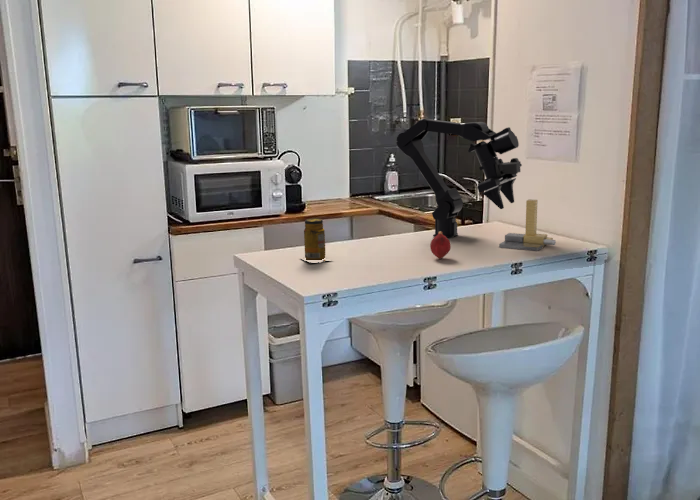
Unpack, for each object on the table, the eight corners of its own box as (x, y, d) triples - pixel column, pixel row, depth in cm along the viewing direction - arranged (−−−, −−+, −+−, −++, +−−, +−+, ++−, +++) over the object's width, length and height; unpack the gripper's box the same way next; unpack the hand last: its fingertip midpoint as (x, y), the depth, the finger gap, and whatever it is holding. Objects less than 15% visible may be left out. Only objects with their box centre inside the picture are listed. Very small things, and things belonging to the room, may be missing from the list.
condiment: (321, 256, 199) (320, 216, 197) (333, 261, 192) (331, 221, 189) (299, 259, 196) (297, 219, 194) (310, 265, 189) (308, 223, 186)
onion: (451, 260, 188) (451, 233, 186) (431, 261, 188) (431, 233, 187) (449, 256, 194) (449, 229, 192) (429, 256, 194) (429, 229, 192)
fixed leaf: (499, 247, 203) (499, 238, 202) (509, 241, 210) (509, 232, 210) (548, 251, 195) (548, 242, 194) (556, 245, 203) (557, 236, 202)
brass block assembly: (504, 244, 207) (505, 199, 204) (515, 237, 216) (516, 195, 213) (542, 247, 201) (544, 201, 198) (552, 240, 209) (554, 197, 206)
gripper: (500, 154, 196) (520, 203, 196) (521, 146, 211) (540, 191, 211) (468, 168, 202) (487, 215, 203) (491, 159, 217) (509, 203, 218)
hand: (507, 205), depth 209 cm, fingers open, 9 cm apart
